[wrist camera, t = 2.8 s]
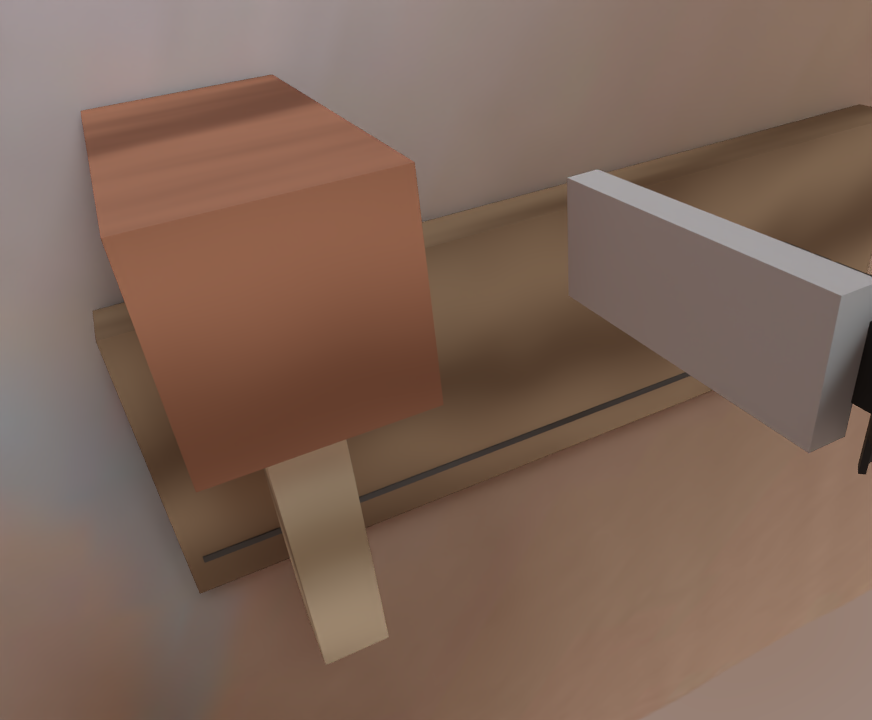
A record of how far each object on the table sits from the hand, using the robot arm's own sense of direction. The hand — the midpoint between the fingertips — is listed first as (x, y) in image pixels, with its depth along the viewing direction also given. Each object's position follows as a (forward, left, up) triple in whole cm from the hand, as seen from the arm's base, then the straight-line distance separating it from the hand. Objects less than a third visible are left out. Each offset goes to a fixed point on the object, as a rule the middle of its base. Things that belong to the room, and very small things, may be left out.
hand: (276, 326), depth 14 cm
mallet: (+5, 0, -9) cm, 10 cm away
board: (+8, +11, -9) cm, 16 cm away
